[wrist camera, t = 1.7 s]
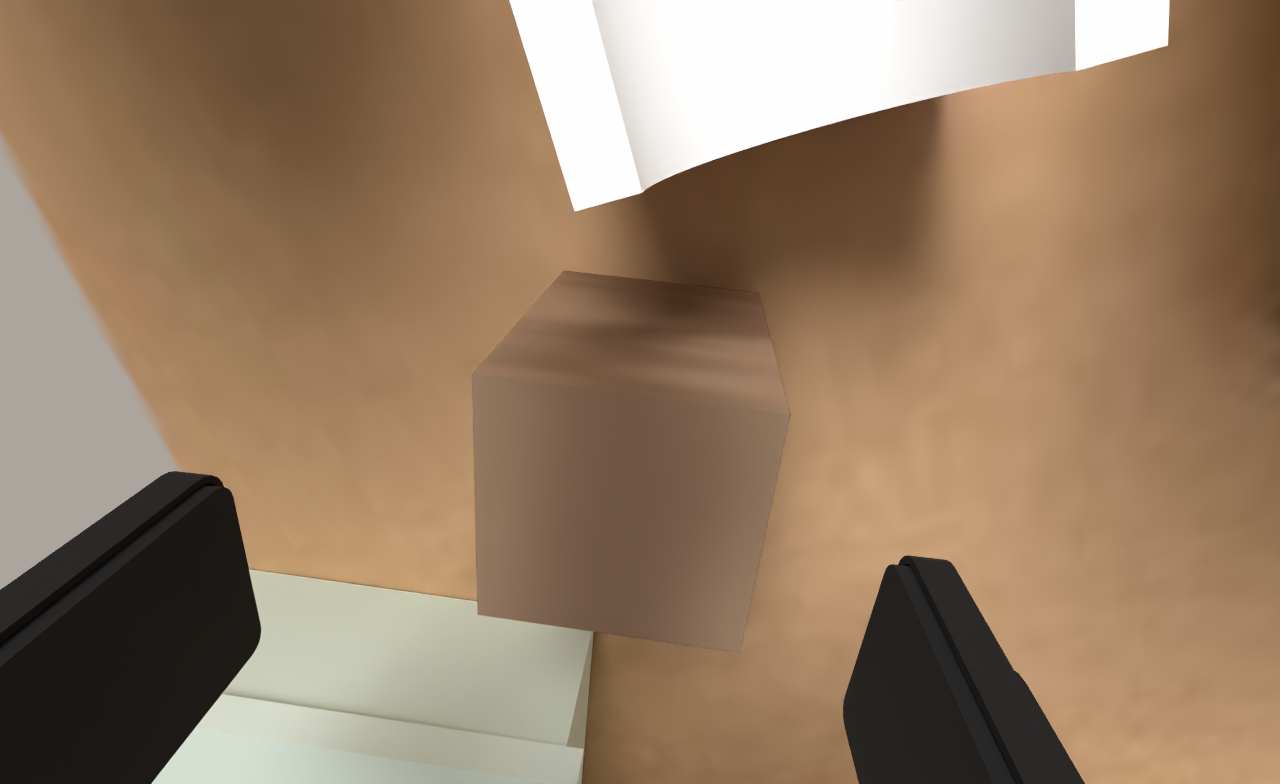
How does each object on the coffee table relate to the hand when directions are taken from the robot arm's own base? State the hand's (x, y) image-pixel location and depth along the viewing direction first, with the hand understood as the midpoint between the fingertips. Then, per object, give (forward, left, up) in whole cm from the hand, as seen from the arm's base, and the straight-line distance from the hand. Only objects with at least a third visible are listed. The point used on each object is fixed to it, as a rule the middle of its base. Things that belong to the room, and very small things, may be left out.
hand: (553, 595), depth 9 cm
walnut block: (-1, 0, -9) cm, 9 cm away
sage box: (+6, +15, -9) cm, 19 cm away
